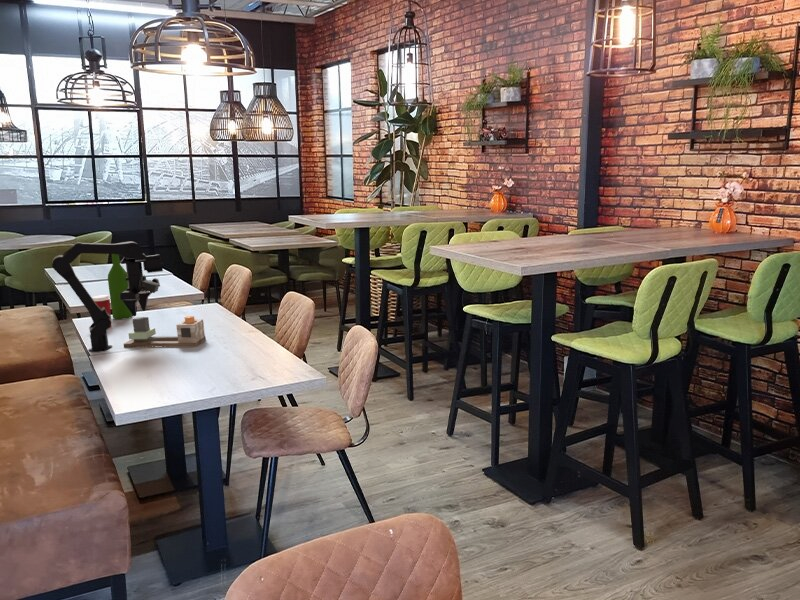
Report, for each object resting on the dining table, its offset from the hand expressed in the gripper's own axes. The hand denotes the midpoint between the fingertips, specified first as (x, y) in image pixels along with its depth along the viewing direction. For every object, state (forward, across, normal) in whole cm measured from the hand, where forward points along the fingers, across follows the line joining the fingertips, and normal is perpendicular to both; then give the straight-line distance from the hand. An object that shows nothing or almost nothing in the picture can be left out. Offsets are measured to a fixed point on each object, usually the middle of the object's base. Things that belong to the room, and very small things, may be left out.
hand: (139, 313), depth 264 cm
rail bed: (+12, -2, -10) cm, 16 cm away
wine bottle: (+12, +49, +30) cm, 59 cm away
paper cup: (+12, +29, +29) cm, 43 cm away
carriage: (+9, -1, -1) cm, 9 cm away
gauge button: (+6, -3, -21) cm, 22 cm away
